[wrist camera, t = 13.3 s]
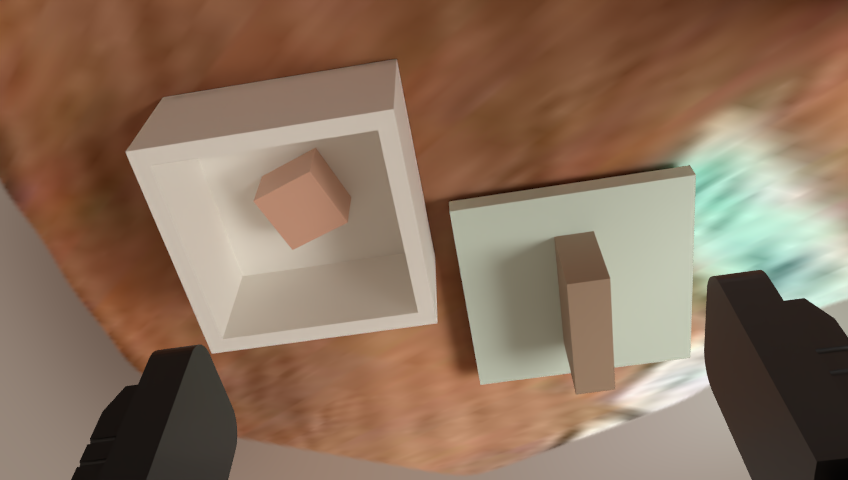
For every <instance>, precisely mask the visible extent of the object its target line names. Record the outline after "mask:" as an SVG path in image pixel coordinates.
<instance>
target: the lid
mask: <svg viewBox="0 0 848 480" xmlns="http://www.w3.org/2000/svg"><path fill="white" fill-rule="evenodd" d="M695 182H696V175H695V173H694V171H693V170H692V168H691V167H690V166H683V167H676V168H670V169H663V170H656V171H650V172H643V173H636V174H630V175H623V176H616V177H610V178H603V179H596V180H590V181H583V182H576V183H570V184H563V185H556V186H550V187H543V188H536V189H530V190H523V191H516V192H510V193H503V194H497V195H490V196H483V197H477V198H470V199H463V200H457V201H450V202H449V212H450V217H451V223H452V228H453V234H454V240H455V245H456V251H457V256H458V262H459V268H460V273H461V279H462V284H463V290H464V295H465V301H466V307H467V312H468V318H469V323H470V329H471V334H472V340H473V346H474V351H475V357H476V362H477V368H478V373H479V379H480V385H482V384H490V383H498V382H505V381H513V380H521V379H529V378H537V377H544V376H552V375H560V374H568V373H571V375H572V379H573V383H574V388H575V392H576V394H583V393H591V392H599V391H607V390H615V373H614V367H622V366H630V365H638V364H646V363H653V362H661V361H669V360H677V359H684V358H690V348H691V315H692V282H693V249H694V215H695Z"/></svg>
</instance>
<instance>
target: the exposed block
mask: <svg viewBox="0 0 848 480" xmlns="http://www.w3.org/2000/svg"><path fill="white" fill-rule="evenodd" d="M254 203H255V204H256V205H257V206H258V208H259V209H260V210H261V211H262V213H263V214H264V215H265V216H266V218H267V219H268V220H269V221H270V223H271V224H272V225H273V226H274V228H275V229H276V230H277V231H278V233H279V234H280V235H281V236H282V237H283V239H284V240H285V241H286V242H287V244H288V245H289V246H290V247H291V249H292V250H294V249H296V248H298V247H300V246H302V245H304V244H306V243H308V242H310V241H312V240H314V239H316V238H318V237H320V236H322V235H324V234H326V233H328V232H330V231H332V230H334V229H336V228H338V227H340V226H342V225H344V224H346V223H348V217H349V210H350V203H351V196H350V195H349V193H348V192H347V190H346V189H345V188H344V186H343V185H342V183H341V182H340V181H339V179H338V178H337V176H336V175H335V174H334V172H333V171H332V170H331V168H330V167H329V165H328V164H327V163H326V161H325V160H324V158H323V157H322V156H321V154H320V153H319V151H318V150H317V149H316V148H314V149H312V150H310V151H308V152H306V153H305V154H303V155H301V156H299V157H297V158H295V159H293V160H291V161H290V162H288V163H286V164H284V165H282V166H280V167H278V168H277V169H275V170H273V171H271V172H269V173H267V174H265V175H263V176H262V177H261V180H260V183H259V186H258V189H257V192H256V195H255V198H254Z"/></svg>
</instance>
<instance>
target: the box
mask: <svg viewBox="0 0 848 480" xmlns="http://www.w3.org/2000/svg"><path fill="white" fill-rule="evenodd" d="M314 148H316V149H317V150H318V151H319V153H320V154H321V156H322V157H323V158H324V160H325V161H326V163H327V164H328V165H329V167H330V168H331V170H332V171H333V172H334V174H335V175H336V176H337V178H338V179H339V181H340V182H341V183H342V185H343V186H344V188H345V189H346V190H347V192H348V193H349V195H350V196H351V203H350V210H349V217H348V223H346V224H344V225H342V226H340V227H338V228H336V229H334V230H332V231H330V232H328V233H326V234H324V235H322V236H320V237H318V238H316V239H314V240H312V241H310V242H308V243H306V244H304V245H302V246H300V247H298V248H296V249H294V250H292V249H291V247H290V246H289V245H288V244H287V242H286V241H285V240H284V239H283V237H282V236H281V235H280V234H279V233H278V231H277V230H276V229H275V228H274V226H273V225H272V224H271V223H270V221H269V220H268V219H267V218H266V216H265V215H264V214H263V213H262V211H261V210H260V209H259V208H258V206H257V205H256V204H255V203H254V198H255V195H256V192H257V189H258V186H259V183H260V180H261V177H262V176H263V175H265V174H267V173H269V172H271V171H273V170H275V169H277V168H278V167H280V166H282V165H284V164H286V163H288V162H290V161H291V160H293V159H295V158H297V157H299V156H301V155H303V154H305V153H306V152H308V151H310V150H312V149H314ZM126 155H127V157H128V159H129V162H130V164H131V166H132V169H133V171H134V173H135V176H136V178H137V180H138V183H139V185H140V187H141V190H142V192H143V194H144V197H145V199H146V201H147V204H148V206H149V208H150V211H151V213H152V215H153V218H154V220H155V222H156V225H157V227H158V229H159V232H160V234H161V236H162V238H163V241H164V243H165V245H166V248H167V250H168V252H169V255H170V257H171V259H172V262H173V264H174V266H175V269H176V271H177V273H178V276H179V278H180V280H181V283H182V285H183V287H184V290H185V292H186V294H187V297H188V299H189V301H190V304H191V306H192V308H193V311H194V313H195V315H196V318H197V320H198V322H199V325H200V327H201V329H202V332H203V334H204V336H205V339H206V341H207V343H208V346H209V348H210V350H211V353H212V354H213V353H220V352H227V351H235V350H242V349H250V348H257V347H265V346H272V345H279V344H287V343H294V342H302V341H309V340H317V339H324V338H331V337H339V336H346V335H354V334H361V333H369V332H376V331H383V330H391V329H398V328H406V327H413V326H421V325H428V324H435V323H437V295H436V266H435V253H434V248H433V243H432V238H431V232H430V227H429V222H428V217H427V212H426V207H425V202H424V196H423V191H422V186H421V181H420V176H419V171H418V166H417V161H416V155H415V150H414V145H413V140H412V135H411V130H410V125H409V120H408V114H407V109H406V104H405V99H404V94H403V89H402V84H401V78H400V73H399V68H398V63H397V59H392V60H386V61H380V62H374V63H368V64H362V65H356V66H350V67H344V68H338V69H332V70H326V71H319V72H313V73H307V74H301V75H295V76H289V77H283V78H277V79H271V80H265V81H259V82H253V83H247V84H241V85H235V86H229V87H223V88H216V89H210V90H204V91H198V92H192V93H186V94H180V95H174V96H168V97H163V98H162V99H161V101H160V102H159V104H158V105H157V107H156V108H155V110H154V111H153V112H152V114H151V115H150V117H149V118H148V120H147V121H146V123H145V124H144V125H143V127H142V128H141V130H140V131H139V133H138V134H137V136H136V137H135V139H134V140H133V141H132V143H131V144H130V146H129V147H128V149H127V150H126Z"/></svg>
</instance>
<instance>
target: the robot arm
mask: <svg viewBox="0 0 848 480" xmlns="http://www.w3.org/2000/svg"><path fill="white" fill-rule="evenodd" d="M704 357H705V365H706V371H707V376H708V380H709V383H710V386H711V389H712V391H713V394H714V396H715V398H716V400H717V403H718V405H719V407H720V409H721V412H722V414H723V416H724V418H725V420H726V423H727V425H728V427H729V430H730V432H731V434H732V436H733V439H734V441H735V443H736V445H737V447H738V450H739V452H740V454H741V456H742V459H743V461H744V463H745V465H746V467H747V470H748V472H749V474H750V477H751V479H752V480H848V337H847V336H846V334H845V333H844V331H843V330H842V328H841V327H840V326H839V324H838V323H837V321H836V320H835V319H834V318H833V317H831V316H830V315H828V314H827V313H825V312H824V311H823V310H821V309H820V308H818V307H817V306H815V305H814V304H812V303H811V302H809V301H808V300H806V299H805V298H802V299H795V300H787V301H783V299H782V297H781V296H780V294H779V293H778V291H777V290H776V288H775V287H774V285H773V283H772V282H771V280H770V279H769V277H768V276H767V274H766V273H765V272H764V271H762V270H756V271H748V272H741V273H734V274H726V275H719V276H712V277H710V278H709V281H708V285H707V302H706V323H705V344H704ZM90 441H91V442H90V444H88V445H87V447H86V449H85V451H84V453H83V455H82V458H81V460H80V467H77V468H76V471H75V473H74V475H73V477H72V479H71V480H228V478H229V473H230V469H231V466H232V462H233V458H234V453H235V450H236V444H237V424H236V418H235V413H234V410H233V407H232V405H231V403H230V401H229V398H228V396H227V394H226V391H225V389H224V387H223V384H222V382H221V380H220V377H219V375H218V373H217V370H216V368H215V366H214V363H213V361H212V359H211V357H210V354H209V352H208V351H207V349H206V348H205V347H204V346H203V345H193V346H185V347H178V348H171V349H163V350H157V351H155V352H153V353H152V355H151V356H150V358H149V360H148V363H147V365H146V367H145V370H144V372H143V374H142V377H141V379H140V382H139V384H138V385H132V386H126V387H125V388H124V389H123V390H122V391H121V392H120V393H119V394H118V395H117V396H116V398H115V399H114V400H113V401H112V402H111V403H110V404H109V405H108V406H107V408H106V409H105V410H104V411H103V412H102V414H101V416H100V418H99V420H98V423H97V425H96V427H95V429H94V432H93V434H92V436H91V438H90Z"/></svg>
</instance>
